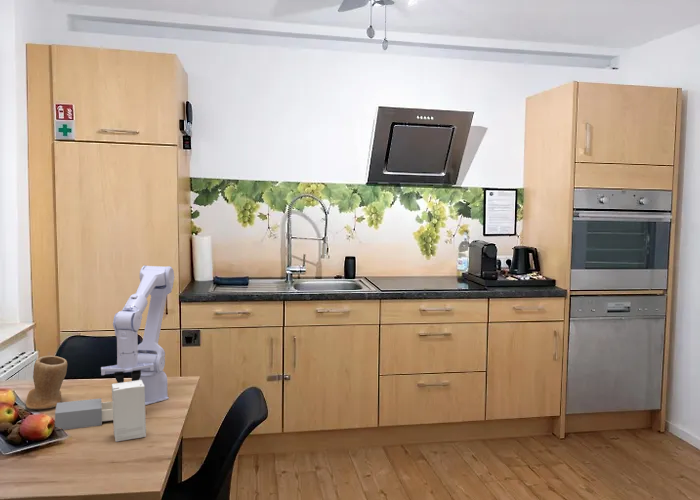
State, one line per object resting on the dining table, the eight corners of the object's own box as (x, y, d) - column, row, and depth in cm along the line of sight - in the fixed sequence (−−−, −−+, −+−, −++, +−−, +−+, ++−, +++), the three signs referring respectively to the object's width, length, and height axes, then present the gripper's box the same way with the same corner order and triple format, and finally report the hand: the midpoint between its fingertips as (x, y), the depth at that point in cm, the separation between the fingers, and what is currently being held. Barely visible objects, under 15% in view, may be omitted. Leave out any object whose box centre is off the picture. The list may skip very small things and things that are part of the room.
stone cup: (67, 409, 183) (66, 361, 182) (23, 414, 178) (21, 365, 177) (69, 394, 197) (68, 349, 196) (28, 397, 192) (27, 352, 191)
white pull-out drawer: (84, 426, 169) (84, 395, 168) (85, 415, 178) (84, 385, 177) (132, 420, 174) (132, 390, 173) (130, 410, 183) (130, 380, 182)
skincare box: (143, 430, 169) (143, 378, 167) (146, 438, 163) (146, 385, 162) (111, 434, 165) (111, 382, 164) (113, 442, 159) (113, 388, 158)
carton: (55, 430, 167) (55, 413, 166) (57, 419, 175) (56, 402, 174) (101, 425, 171) (101, 408, 171) (101, 414, 179) (101, 398, 179)
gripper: (101, 356, 170) (101, 403, 171) (154, 352, 176) (154, 397, 177) (100, 350, 176) (101, 395, 178) (152, 346, 182) (152, 390, 183)
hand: (127, 395), depth 178 cm, fingers closed on white pull-out drawer, 2 cm apart
